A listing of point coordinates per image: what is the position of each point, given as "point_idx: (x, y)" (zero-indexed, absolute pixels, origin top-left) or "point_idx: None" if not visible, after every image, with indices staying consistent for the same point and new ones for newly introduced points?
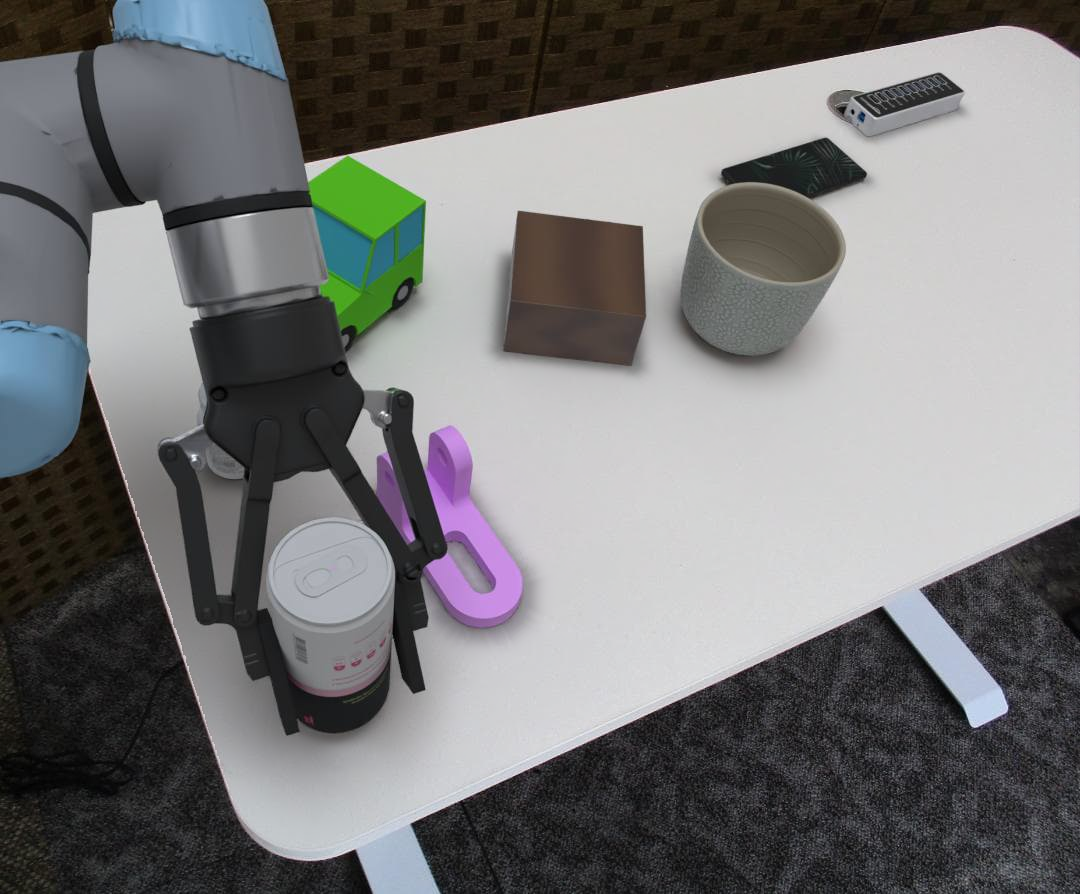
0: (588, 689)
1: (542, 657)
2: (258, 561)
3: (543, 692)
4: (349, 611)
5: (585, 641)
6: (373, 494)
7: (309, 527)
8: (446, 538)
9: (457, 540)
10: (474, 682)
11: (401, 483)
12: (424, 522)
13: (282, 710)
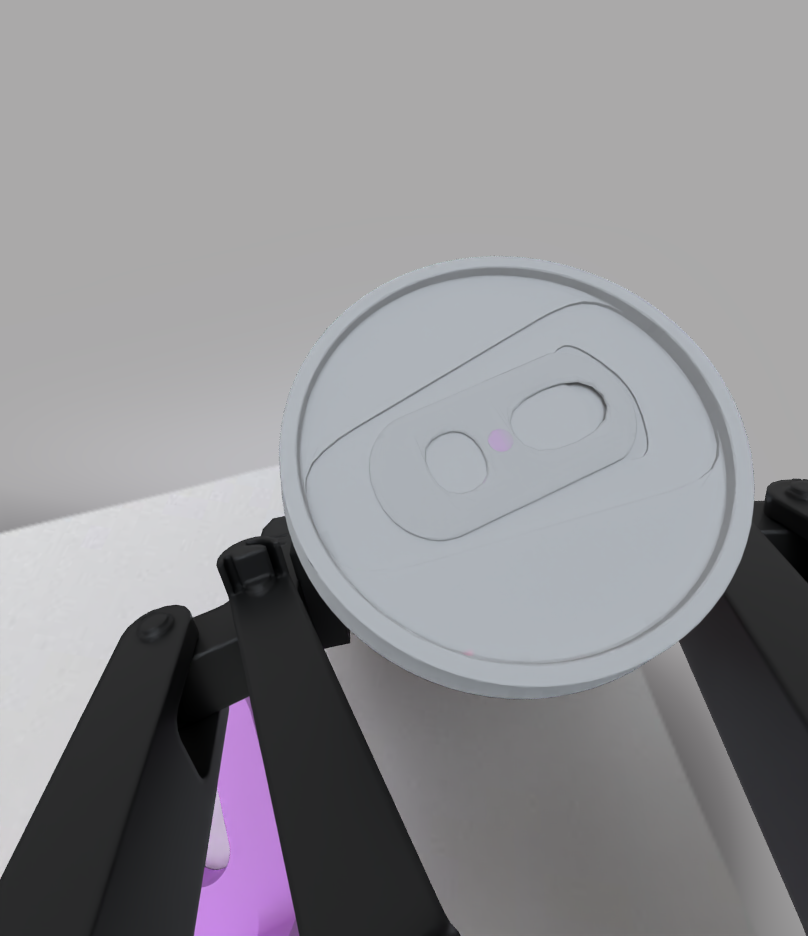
0: (106, 548)
1: (148, 605)
2: (741, 589)
3: (167, 553)
4: (449, 298)
5: (76, 622)
6: (289, 837)
7: (607, 649)
8: (222, 873)
9: (206, 868)
10: None
11: (152, 933)
12: (140, 703)
13: None
